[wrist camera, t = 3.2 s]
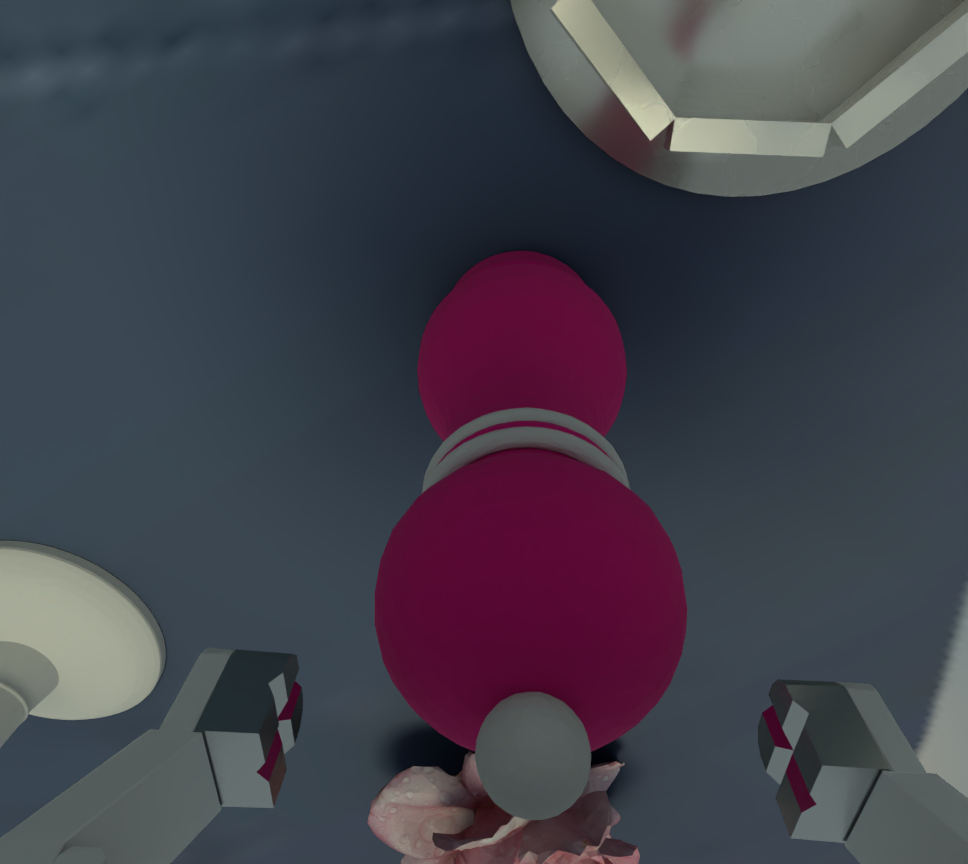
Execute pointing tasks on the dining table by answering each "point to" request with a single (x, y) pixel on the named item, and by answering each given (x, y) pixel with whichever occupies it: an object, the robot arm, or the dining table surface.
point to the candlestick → (70, 639)
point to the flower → (493, 822)
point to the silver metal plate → (747, 82)
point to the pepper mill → (528, 541)
